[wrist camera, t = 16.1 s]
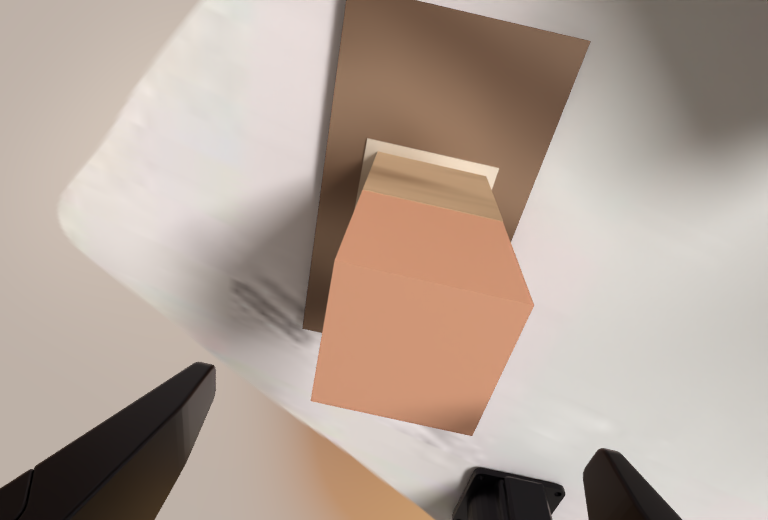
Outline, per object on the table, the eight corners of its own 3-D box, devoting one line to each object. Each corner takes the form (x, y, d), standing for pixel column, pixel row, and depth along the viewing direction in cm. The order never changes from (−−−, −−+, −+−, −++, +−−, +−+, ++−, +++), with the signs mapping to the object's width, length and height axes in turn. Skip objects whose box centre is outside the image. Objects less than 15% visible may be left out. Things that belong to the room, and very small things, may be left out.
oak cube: (454, 269, 22) (461, 331, 17) (358, 247, 21) (341, 304, 17) (486, 176, 19) (503, 221, 15) (377, 151, 19) (362, 189, 15)
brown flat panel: (461, 356, 25) (462, 364, 25) (305, 322, 25) (302, 329, 24) (585, 40, 17) (591, 41, 16) (350, -15, 17) (347, -16, 16)
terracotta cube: (461, 331, 17) (472, 436, 13) (340, 304, 17) (310, 401, 13) (502, 222, 15) (534, 305, 10) (362, 190, 15) (334, 260, 10)
